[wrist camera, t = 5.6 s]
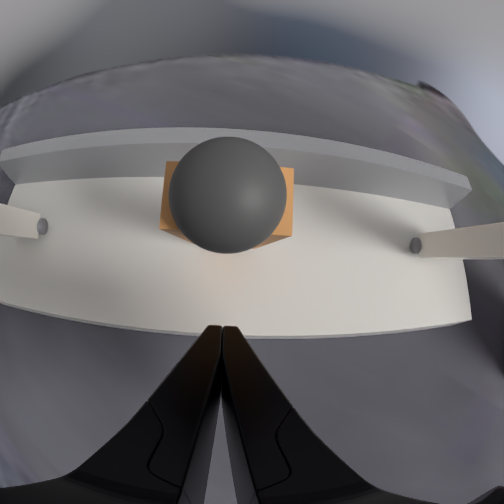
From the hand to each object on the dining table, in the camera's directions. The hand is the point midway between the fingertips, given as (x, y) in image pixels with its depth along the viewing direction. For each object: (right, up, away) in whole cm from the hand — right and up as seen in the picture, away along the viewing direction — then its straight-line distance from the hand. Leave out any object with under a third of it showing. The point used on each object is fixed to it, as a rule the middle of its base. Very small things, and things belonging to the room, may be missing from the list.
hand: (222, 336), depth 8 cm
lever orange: (0, +3, +6) cm, 7 cm away
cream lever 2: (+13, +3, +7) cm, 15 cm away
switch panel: (-1, +2, +9) cm, 9 cm away
